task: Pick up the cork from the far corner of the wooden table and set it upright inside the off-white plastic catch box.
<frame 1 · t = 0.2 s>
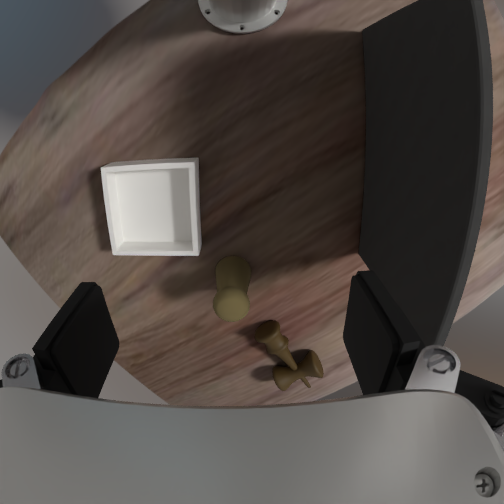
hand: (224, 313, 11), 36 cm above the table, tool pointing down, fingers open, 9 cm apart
catch box: (155, 203, 46), on the table
laptop: (431, 148, 43), on the table
cork: (233, 271, 52), on the table
kendama: (288, 351, 61), on the table
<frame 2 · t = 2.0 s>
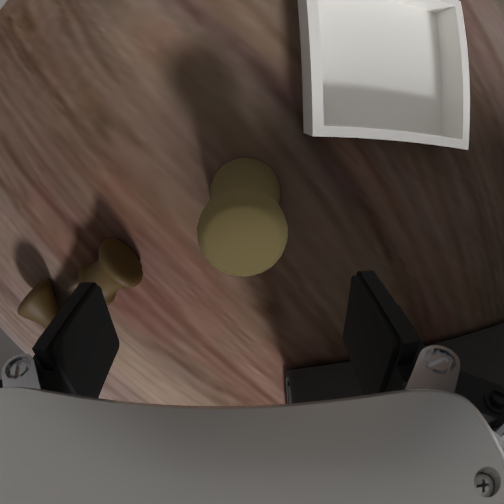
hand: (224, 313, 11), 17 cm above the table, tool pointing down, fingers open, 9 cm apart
catch box: (380, 60, 21), on the table
laptop: (403, 398, 40), on the table
cork: (245, 191, 26), on the table
kendama: (82, 294, 31), on the table
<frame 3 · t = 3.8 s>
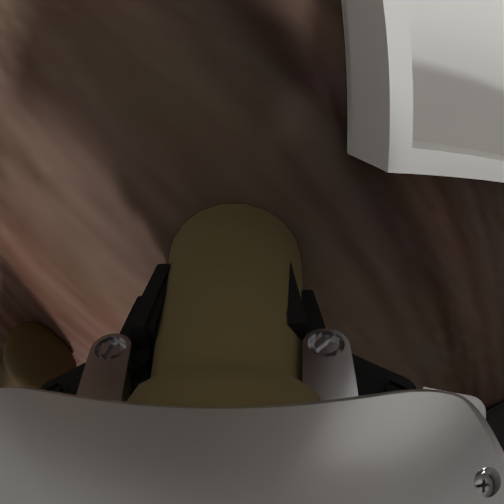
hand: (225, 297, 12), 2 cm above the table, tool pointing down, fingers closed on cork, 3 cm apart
catch box: (470, 31, 9), on the table
laptop: (428, 464, 28), on the table
cork: (234, 265, 14), on the table, touching gripper
kendama: (19, 376, 19), on the table
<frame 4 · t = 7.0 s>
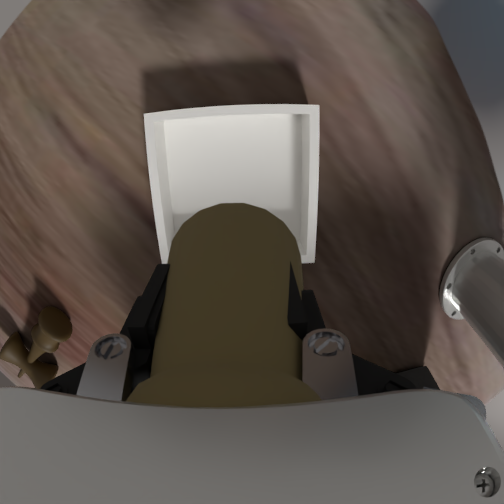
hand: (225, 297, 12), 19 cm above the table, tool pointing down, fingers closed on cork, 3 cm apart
catch box: (235, 179, 29), on the table
laptop: (312, 427, 48), on the table
cork: (234, 265, 14), point 16 cm above the table, touching gripper
kendama: (42, 341, 38), on the table
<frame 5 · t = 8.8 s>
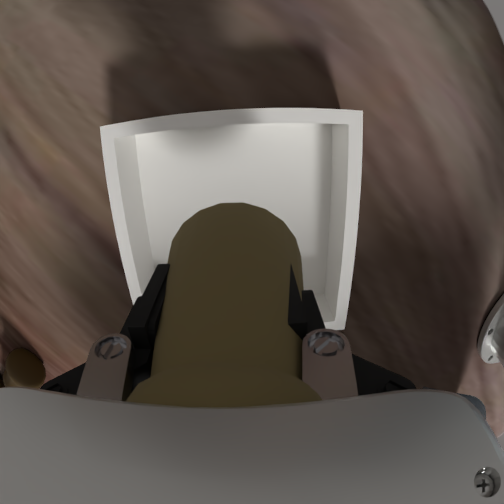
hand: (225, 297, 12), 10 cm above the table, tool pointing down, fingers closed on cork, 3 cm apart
catch box: (237, 215, 21), on the table
cork: (234, 265, 14), point 7 cm above the table, touching gripper
kendama: (21, 381, 30), on the table
when the fingers open (4 cm above the table, at t = 10.1 s): cork drops 1 cm, resting on catch box.
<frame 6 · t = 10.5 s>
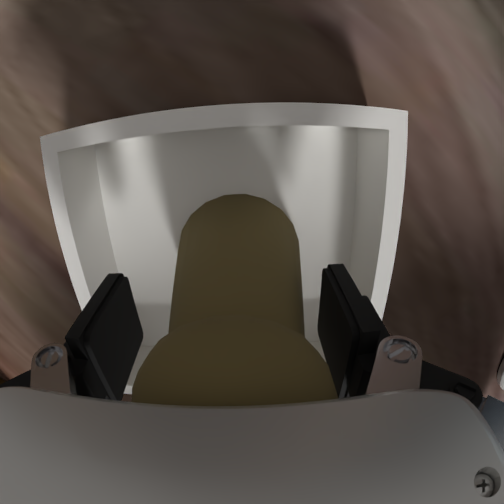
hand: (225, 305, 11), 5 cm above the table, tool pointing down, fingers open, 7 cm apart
catch box: (230, 247, 16), on the table
cork: (238, 251, 16), resting on catch box
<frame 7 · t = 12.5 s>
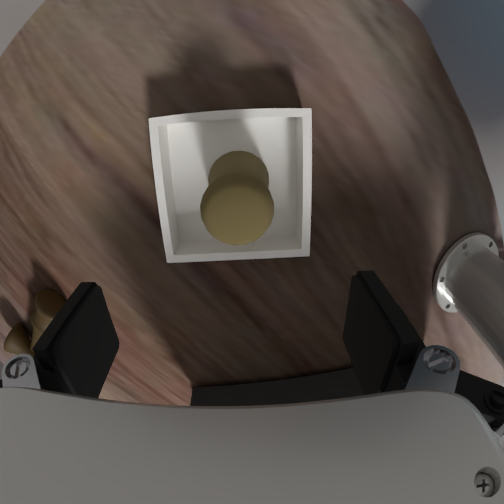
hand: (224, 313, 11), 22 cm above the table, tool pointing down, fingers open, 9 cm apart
catch box: (234, 179, 31), on the table
laptop: (313, 414, 49), on the table
cork: (238, 180, 30), resting on catch box
kendama: (44, 329, 39), on the table
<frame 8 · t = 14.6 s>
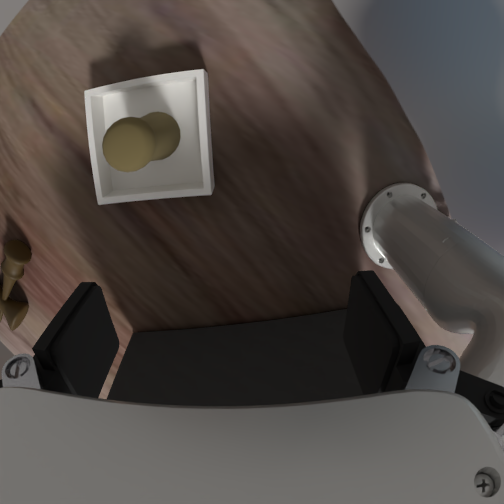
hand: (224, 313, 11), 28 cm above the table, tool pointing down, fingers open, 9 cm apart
catch box: (154, 136, 34), on the table
laptop: (256, 374, 52), on the table
cork: (156, 136, 34), resting on catch box
kendama: (15, 281, 43), on the table
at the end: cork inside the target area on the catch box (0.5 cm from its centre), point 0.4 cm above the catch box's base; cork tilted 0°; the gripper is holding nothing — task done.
